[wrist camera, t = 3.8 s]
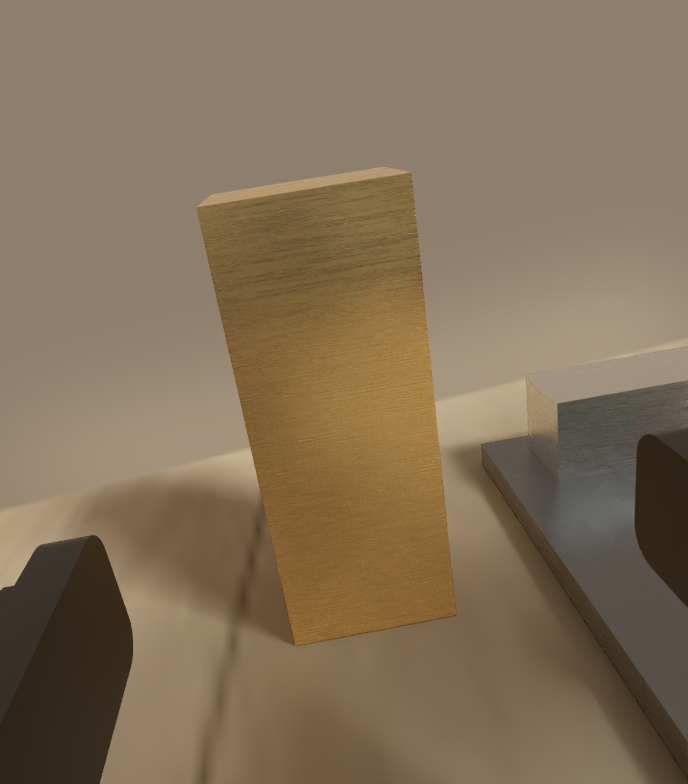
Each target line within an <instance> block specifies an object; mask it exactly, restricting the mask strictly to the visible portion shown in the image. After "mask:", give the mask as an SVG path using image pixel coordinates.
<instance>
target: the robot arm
mask: <svg viewBox="0 0 688 784" xmlns="http://www.w3.org/2000/svg"><path fill="white" fill-rule="evenodd" d="M634 522H635V533H636V538H637V541H638V544H639V547H640V550H641V552H642V554H643V556H644V558H645V560H646V561H647V563H648V564H649V565H650V567H651V568H652V569H653V570H654V571H655V572H656V573H657V574H658V576H659V577H660V578H661V579H662V580H663V581H664V582H665V583H666V585H667V586H668V587H669V588H670V589H671V590H672V591H673V592H674V593H675V595H676V596H677V597H678V598H679V599H680V600H681V601H682V602H683V603H684V605H685V606H686V607H687V608H688V427H683V428H677V429H672V430H667V431H661V432H656V433H650V434H646V435H643V436H642V437H641V438H640V440H639V442H638V446H637V453H636V487H635V520H634ZM132 658H133V635H132V628H131V623H130V619H129V616H128V613H127V610H126V607H125V605H124V602H123V599H122V596H121V593H120V590H119V587H118V584H117V582H116V579H115V576H114V573H113V570H112V567H111V564H110V561H109V559H108V556H107V553H106V550H105V548H104V545H103V543H102V542H101V540H100V539H99V538H98V537H97V536H95V535H91V536H86V537H80V538H75V539H69V540H64V541H58V542H53V543H48V544H42V545H40V546H38V547H37V548H36V550H35V551H34V553H33V554H32V556H31V558H30V559H29V561H28V563H27V565H26V566H25V568H24V570H23V571H22V573H21V575H20V577H19V578H18V580H17V582H16V584H15V585H14V586H10V587H4V588H3V589H2V590H0V784H100V780H101V776H102V773H103V769H104V765H105V761H106V758H107V754H108V750H109V746H110V743H111V739H112V735H113V732H114V728H115V724H116V720H117V717H118V713H119V709H120V705H121V702H122V698H123V694H124V691H125V687H126V683H127V679H128V676H129V672H130V668H131V664H132Z"/></svg>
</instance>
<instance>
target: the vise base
mask: <svg viewBox="0 0 688 784" xmlns="http://www.w3.org/2000/svg"><path fill="white" fill-rule="evenodd" d="M526 388H527V412H528V436H524V437H518V438H513V439H507V440H502V441H496V442H491V443H485V444H481V448H482V461H483V466H484V467H485V469H486V470H487V472H488V473H489V475H490V477H491V478H492V480H493V481H494V483H495V484H496V486H497V487H498V489H499V490H500V492H501V493H502V495H503V496H504V498H505V499H506V501H507V503H508V504H509V506H510V507H511V509H512V510H513V512H514V513H515V515H516V516H517V518H518V519H519V521H520V522H521V524H522V525H523V527H524V528H525V530H526V532H527V533H528V535H529V536H530V538H531V539H532V541H533V542H534V544H535V545H536V547H537V548H538V550H539V551H540V553H541V554H542V556H543V558H544V559H545V561H546V562H547V564H548V565H549V567H550V568H551V570H552V571H553V573H554V574H555V576H556V577H557V579H558V580H559V582H560V584H561V585H562V587H563V588H564V590H565V591H566V593H567V594H568V596H569V597H570V599H571V600H572V602H573V603H574V605H575V606H576V608H577V610H578V611H579V613H580V614H581V616H582V617H583V619H584V620H585V622H586V623H587V625H588V626H589V628H590V629H591V631H592V632H593V634H594V635H595V637H596V639H597V640H598V642H599V643H600V645H601V646H602V648H603V649H604V651H605V652H606V654H607V655H608V657H609V658H610V660H611V661H612V663H613V665H614V666H615V668H616V669H617V671H618V672H619V674H620V675H621V677H622V678H623V680H624V681H625V683H626V684H627V686H628V687H629V689H630V691H631V692H632V694H633V695H634V697H635V698H636V700H637V701H638V703H639V704H640V706H641V707H642V709H643V710H644V712H645V713H646V715H647V717H648V718H649V720H650V721H651V723H652V724H653V726H654V727H655V729H656V730H657V732H658V733H659V735H660V736H661V738H662V739H663V741H664V742H665V744H666V746H667V747H668V749H669V750H670V752H671V753H672V755H673V756H674V758H675V759H676V761H677V762H678V764H679V765H680V767H681V768H682V770H683V772H684V773H685V775H686V776H687V778H688V608H687V607H686V606H685V605H684V603H683V602H682V601H681V600H680V599H679V598H678V597H677V596H676V595H675V593H674V592H673V591H672V590H671V589H670V588H669V587H668V586H667V585H666V583H665V582H664V581H663V580H662V579H661V578H660V577H659V576H658V574H657V573H656V572H655V571H654V570H653V569H652V568H651V567H650V565H649V564H648V563H647V561H646V560H645V558H644V556H643V554H642V552H641V550H640V547H639V544H638V541H637V538H636V533H635V522H634V520H635V487H636V453H637V446H638V442H639V440H640V438H641V437H642V436H643V435H646V434H650V433H656V432H661V431H667V430H672V429H677V428H683V427H688V346H687V347H681V348H675V349H670V350H664V351H658V352H653V353H647V354H641V355H636V356H630V357H624V358H619V359H613V360H607V361H602V362H596V363H590V364H585V365H579V366H573V367H568V368H562V369H556V370H551V371H545V372H540V373H534V374H528V375H526Z"/></svg>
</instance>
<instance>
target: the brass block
mask: <svg viewBox="0 0 688 784" xmlns="http://www.w3.org/2000/svg"><path fill="white" fill-rule="evenodd" d="M196 209H197V214H198V218H199V222H200V227H201V231H202V235H203V240H204V245H205V249H206V253H207V258H208V262H209V267H210V271H211V275H212V280H213V284H214V288H215V293H216V298H217V302H218V306H219V311H220V315H221V320H222V324H223V328H224V333H225V337H226V342H227V346H228V350H229V355H230V359H231V364H232V368H233V373H234V377H235V381H236V386H237V390H238V395H239V399H240V403H241V408H242V412H243V417H244V421H245V425H246V430H247V434H248V439H249V443H250V448H251V452H252V456H253V461H254V465H255V470H256V474H257V479H258V483H259V487H260V492H261V496H262V501H263V505H264V509H265V514H266V518H267V523H268V527H269V532H270V536H271V540H272V545H273V549H274V554H275V558H276V562H277V567H278V571H279V576H280V580H281V585H282V589H283V593H284V598H285V602H286V607H287V611H288V615H289V620H290V624H291V629H292V633H293V637H294V642H295V646H298V645H303V644H308V643H313V642H319V641H324V640H329V639H334V638H339V637H345V636H350V635H355V634H360V633H365V632H371V631H376V630H381V629H386V628H391V627H397V626H402V625H407V624H412V623H417V622H423V621H428V620H433V619H438V618H443V617H449V616H454V615H456V608H455V598H454V588H453V578H452V569H451V559H450V549H449V539H448V529H447V519H446V509H445V499H444V489H443V480H442V470H441V460H440V450H439V440H438V430H437V420H436V410H435V400H434V390H433V381H432V371H431V361H430V351H429V341H428V331H427V321H426V312H425V303H424V292H423V282H422V272H421V262H420V252H419V242H418V232H417V223H416V213H415V203H414V193H413V184H412V174H411V172H407V171H402V170H397V169H392V168H387V167H379V168H373V169H367V170H361V171H354V172H348V173H342V174H336V175H330V176H323V177H317V178H311V179H305V180H299V181H293V182H287V183H280V184H274V185H268V186H262V187H255V188H249V189H243V190H237V191H230V192H225V193H219V194H212V195H211V196H209V197H208V198H207V199H206V200H204V201H203V202H202V203H201V204H200V205H198V206H197V207H196Z"/></svg>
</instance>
